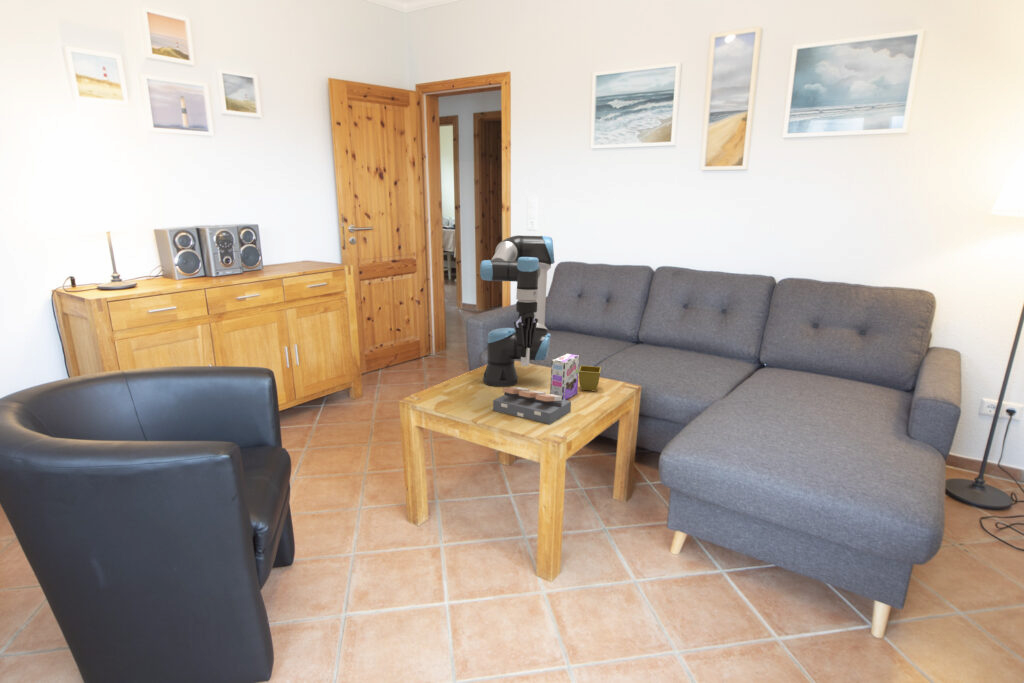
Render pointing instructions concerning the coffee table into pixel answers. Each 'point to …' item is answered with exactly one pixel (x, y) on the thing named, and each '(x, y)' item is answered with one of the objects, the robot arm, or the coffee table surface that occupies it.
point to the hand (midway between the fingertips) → (524, 365)
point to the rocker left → (514, 390)
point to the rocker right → (548, 397)
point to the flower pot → (589, 377)
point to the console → (531, 407)
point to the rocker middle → (530, 393)
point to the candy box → (565, 376)
